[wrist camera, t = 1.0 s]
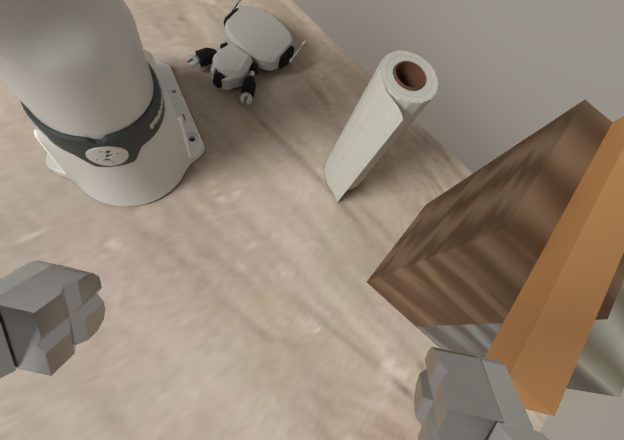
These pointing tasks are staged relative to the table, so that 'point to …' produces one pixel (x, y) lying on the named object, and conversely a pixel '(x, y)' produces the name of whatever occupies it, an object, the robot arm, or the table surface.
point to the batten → (567, 284)
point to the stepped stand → (503, 249)
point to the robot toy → (247, 50)
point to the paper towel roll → (380, 118)
